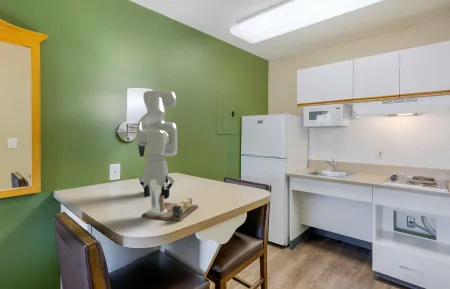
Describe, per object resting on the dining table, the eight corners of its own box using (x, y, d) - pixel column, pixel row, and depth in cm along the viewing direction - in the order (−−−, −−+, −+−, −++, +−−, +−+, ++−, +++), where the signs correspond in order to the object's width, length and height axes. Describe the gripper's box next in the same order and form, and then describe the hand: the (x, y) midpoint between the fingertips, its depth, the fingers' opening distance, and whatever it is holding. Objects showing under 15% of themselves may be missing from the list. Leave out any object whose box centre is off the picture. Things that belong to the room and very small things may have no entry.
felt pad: (141, 214, 105) (141, 214, 105) (153, 208, 113) (153, 207, 113) (160, 216, 102) (160, 216, 102) (171, 210, 111) (171, 209, 111)
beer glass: (151, 209, 111) (150, 176, 110) (166, 209, 111) (166, 176, 111) (147, 214, 104) (147, 179, 103) (164, 214, 104) (163, 179, 104)
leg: (186, 206, 114) (186, 197, 114) (191, 206, 113) (191, 198, 113) (172, 215, 101) (172, 206, 101) (178, 216, 100) (178, 207, 100)
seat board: (141, 217, 105) (141, 205, 104) (164, 204, 123) (164, 194, 123) (180, 221, 100) (180, 208, 99) (198, 207, 118) (197, 197, 118)
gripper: (133, 158, 105) (134, 198, 106) (169, 160, 100) (170, 201, 101) (143, 157, 112) (144, 193, 113) (178, 158, 108) (178, 196, 108)
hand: (156, 197), depth 107 cm, fingers open, 9 cm apart
